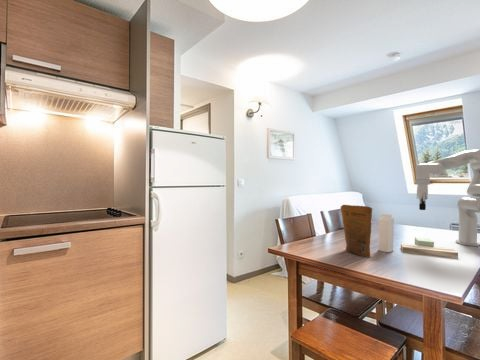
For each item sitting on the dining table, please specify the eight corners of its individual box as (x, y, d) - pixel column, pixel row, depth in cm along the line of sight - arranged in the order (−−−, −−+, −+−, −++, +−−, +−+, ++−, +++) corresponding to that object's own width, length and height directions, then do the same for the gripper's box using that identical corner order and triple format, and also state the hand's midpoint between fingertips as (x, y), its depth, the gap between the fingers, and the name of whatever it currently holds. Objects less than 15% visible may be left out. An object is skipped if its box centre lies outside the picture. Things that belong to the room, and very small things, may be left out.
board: (400, 248, 165) (400, 243, 165) (452, 253, 154) (452, 248, 154) (402, 252, 156) (403, 247, 156) (457, 258, 145) (458, 252, 145)
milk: (388, 252, 154) (389, 215, 154) (378, 250, 159) (378, 214, 159) (393, 250, 158) (394, 214, 158) (382, 248, 163) (383, 213, 163)
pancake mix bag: (367, 259, 141) (368, 207, 141) (338, 250, 158) (339, 203, 157) (375, 257, 144) (376, 206, 144) (346, 249, 161) (347, 203, 161)
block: (414, 246, 170) (414, 237, 170) (429, 248, 167) (429, 238, 167) (417, 250, 161) (418, 240, 161) (433, 252, 158) (433, 242, 158)
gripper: (414, 182, 183) (413, 208, 183) (418, 182, 170) (417, 210, 170) (427, 182, 180) (426, 208, 180) (432, 182, 166) (431, 211, 167)
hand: (422, 209), depth 175 cm, fingers closed
